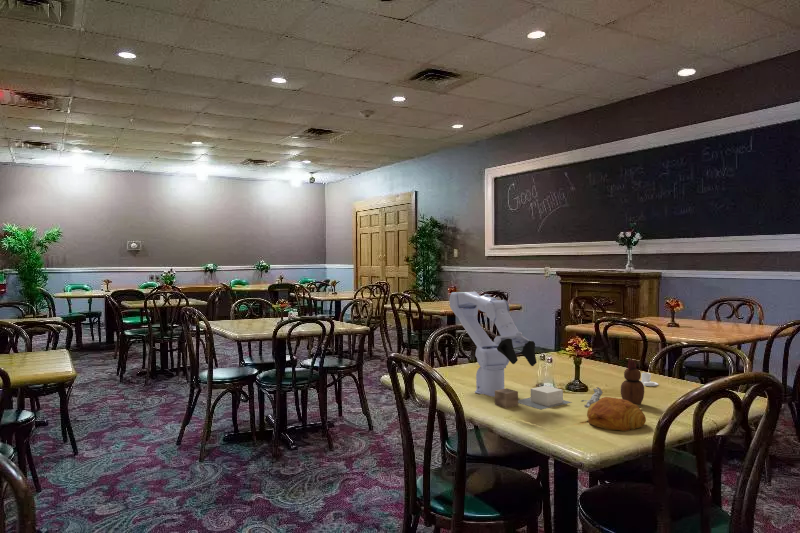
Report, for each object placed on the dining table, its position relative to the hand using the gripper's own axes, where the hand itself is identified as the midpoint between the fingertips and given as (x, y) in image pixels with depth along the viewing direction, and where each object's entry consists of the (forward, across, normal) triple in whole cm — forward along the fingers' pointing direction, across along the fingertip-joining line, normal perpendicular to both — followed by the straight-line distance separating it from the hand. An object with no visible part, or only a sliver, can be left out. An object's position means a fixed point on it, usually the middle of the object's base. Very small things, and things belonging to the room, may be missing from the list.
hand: (524, 363), depth 173 cm
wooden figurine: (+16, +34, -3) cm, 37 cm away
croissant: (+26, +13, -7) cm, 30 cm away
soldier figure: (+13, +23, +2) cm, 27 cm away
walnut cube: (+6, 0, +14) cm, 15 cm away
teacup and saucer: (0, +58, +5) cm, 59 cm away
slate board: (+7, +11, +10) cm, 17 cm away
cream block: (+7, +12, +9) cm, 17 cm away
